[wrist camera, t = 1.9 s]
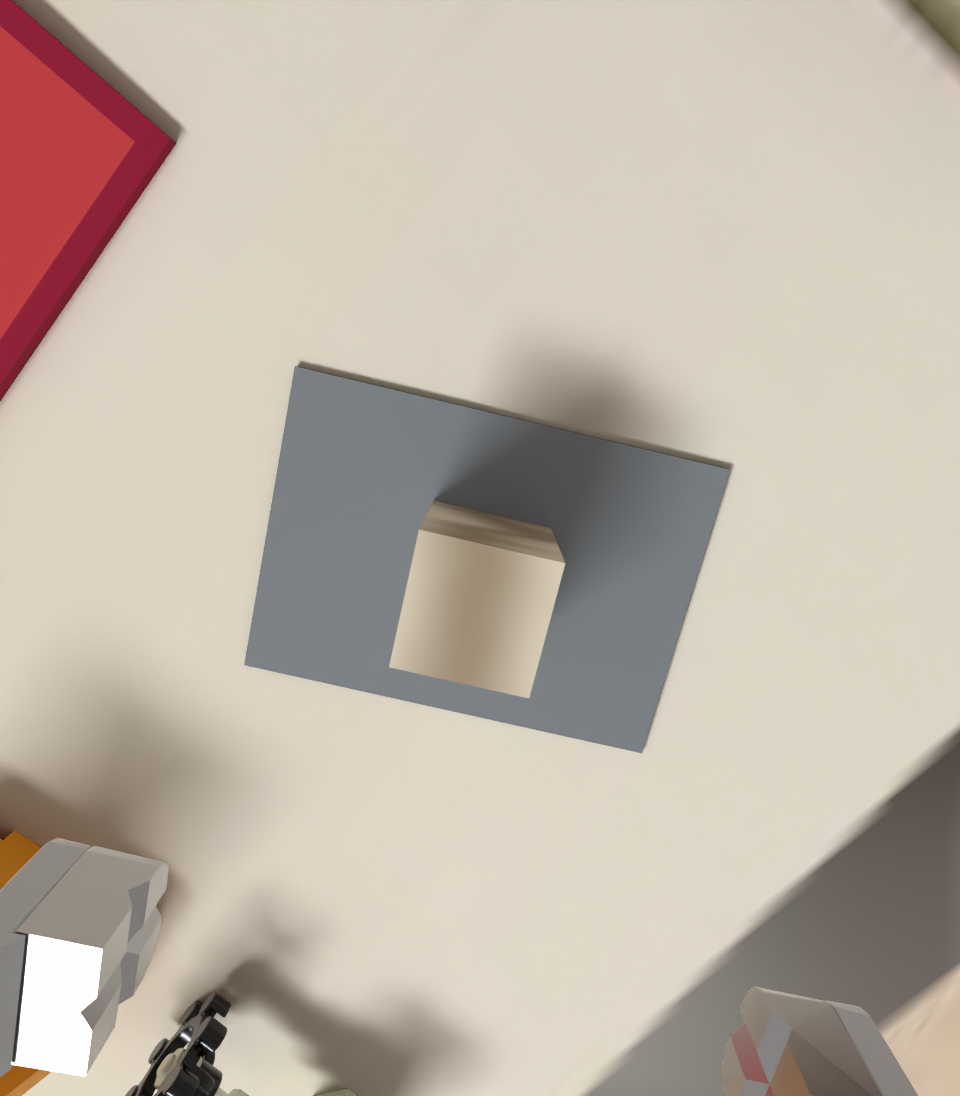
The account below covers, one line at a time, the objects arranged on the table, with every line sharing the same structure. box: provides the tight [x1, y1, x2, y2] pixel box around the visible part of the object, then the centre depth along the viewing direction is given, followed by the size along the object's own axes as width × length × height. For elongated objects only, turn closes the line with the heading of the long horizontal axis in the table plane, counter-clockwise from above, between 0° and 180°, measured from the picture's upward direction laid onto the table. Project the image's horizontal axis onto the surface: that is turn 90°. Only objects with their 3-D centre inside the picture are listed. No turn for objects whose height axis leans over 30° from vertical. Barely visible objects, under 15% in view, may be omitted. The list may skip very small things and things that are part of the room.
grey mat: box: [245, 366, 730, 753], centre depth 30 cm, size 18×13×1 cm
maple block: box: [389, 501, 565, 698], centre depth 27 cm, size 5×5×6 cm
